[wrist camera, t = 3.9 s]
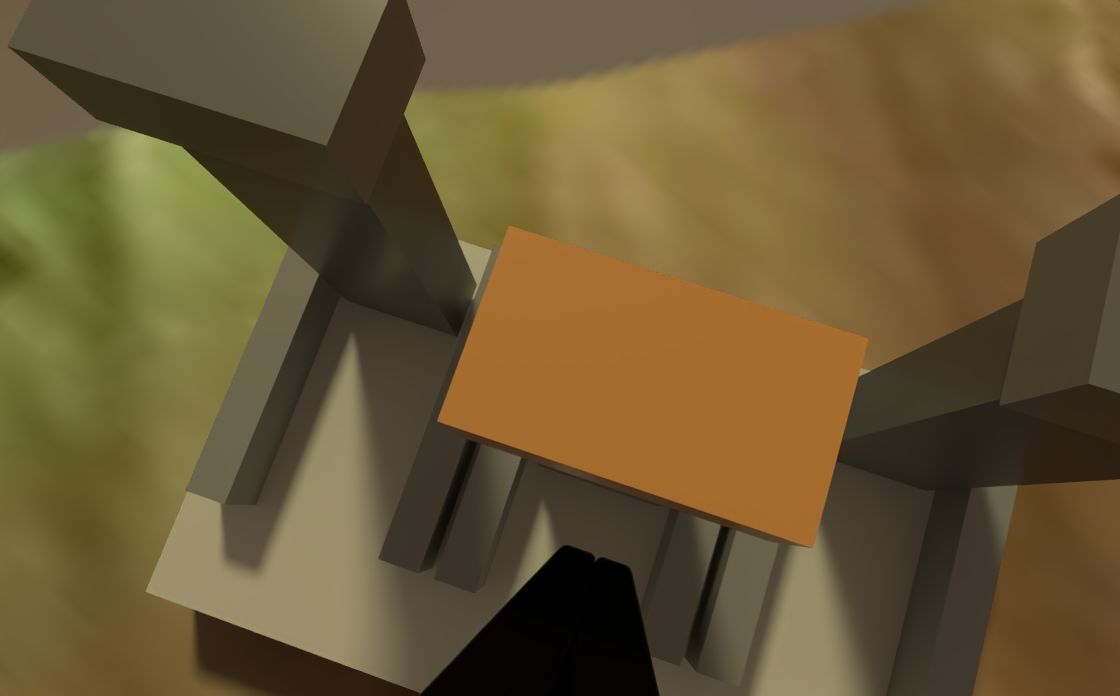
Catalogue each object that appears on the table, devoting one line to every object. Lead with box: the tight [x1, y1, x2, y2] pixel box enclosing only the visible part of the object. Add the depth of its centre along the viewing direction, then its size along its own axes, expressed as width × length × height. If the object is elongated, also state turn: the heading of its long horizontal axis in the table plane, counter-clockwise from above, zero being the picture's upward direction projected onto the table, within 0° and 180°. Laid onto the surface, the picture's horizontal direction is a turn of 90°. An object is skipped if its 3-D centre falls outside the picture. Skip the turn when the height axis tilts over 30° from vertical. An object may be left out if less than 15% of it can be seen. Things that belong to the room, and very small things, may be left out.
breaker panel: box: [146, 240, 1018, 696], centre depth 16 cm, size 9×16×4 cm, turn 71°
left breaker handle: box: [8, 0, 477, 337], centre depth 12 cm, size 2×3×10 cm, turn 71°
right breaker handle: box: [836, 194, 1120, 491], centre depth 11 cm, size 2×3×10 cm, turn 72°
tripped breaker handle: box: [437, 226, 868, 548], centre depth 11 cm, size 2×3×10 cm, turn 72°
